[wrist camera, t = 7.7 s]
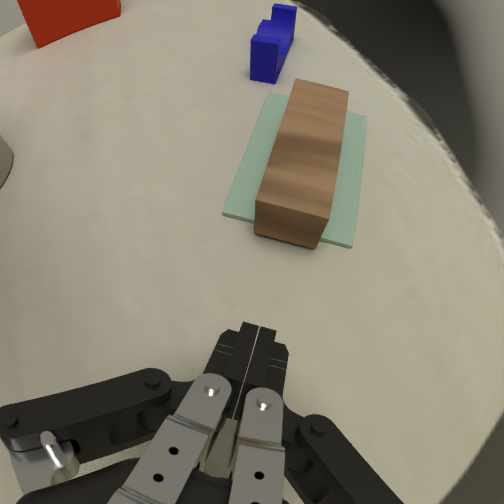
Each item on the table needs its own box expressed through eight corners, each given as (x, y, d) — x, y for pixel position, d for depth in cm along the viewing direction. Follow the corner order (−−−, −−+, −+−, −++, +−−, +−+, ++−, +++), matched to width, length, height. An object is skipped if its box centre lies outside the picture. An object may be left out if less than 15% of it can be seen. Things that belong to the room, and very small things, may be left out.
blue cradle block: (262, 35, 39) (263, 2, 33) (293, 40, 38) (296, 6, 33) (237, 79, 34) (237, 38, 29) (275, 85, 34) (278, 44, 28)
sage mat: (350, 248, 26) (352, 246, 25) (222, 214, 27) (222, 212, 26) (365, 119, 32) (366, 116, 31) (269, 95, 33) (269, 92, 32)
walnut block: (329, 219, 21) (348, 91, 26) (255, 199, 21) (295, 78, 26) (315, 248, 25) (337, 127, 30) (254, 232, 26) (290, 115, 31)
